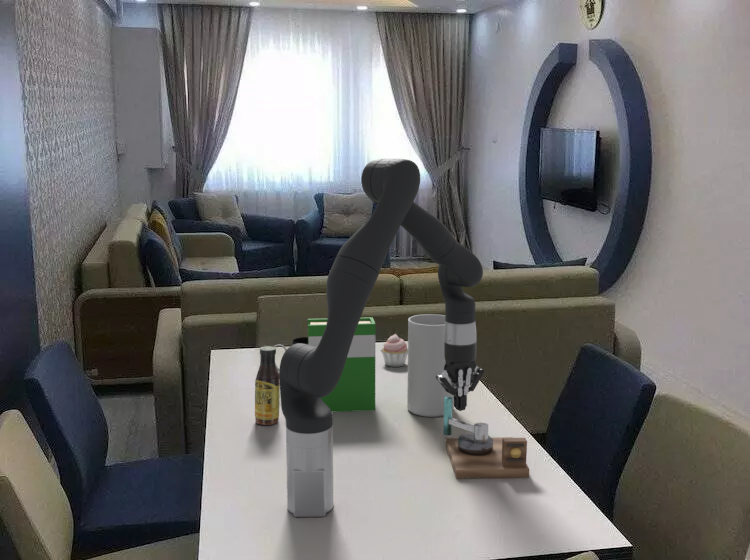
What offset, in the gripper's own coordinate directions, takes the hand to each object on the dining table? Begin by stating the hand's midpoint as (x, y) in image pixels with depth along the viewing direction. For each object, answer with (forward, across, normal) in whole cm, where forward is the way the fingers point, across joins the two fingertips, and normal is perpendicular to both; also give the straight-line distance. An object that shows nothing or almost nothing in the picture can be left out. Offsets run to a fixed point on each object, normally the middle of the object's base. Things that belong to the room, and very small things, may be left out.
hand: (460, 409), depth 190 cm
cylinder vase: (+9, +6, +23) cm, 26 cm away
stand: (+9, -1, -11) cm, 14 cm away
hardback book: (+8, -14, +37) cm, 40 cm away
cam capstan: (+6, -2, -6) cm, 9 cm away
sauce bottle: (+8, -35, +36) cm, 51 cm away
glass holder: (+8, -19, +55) cm, 59 cm away
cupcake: (+9, +19, +64) cm, 67 cm away
